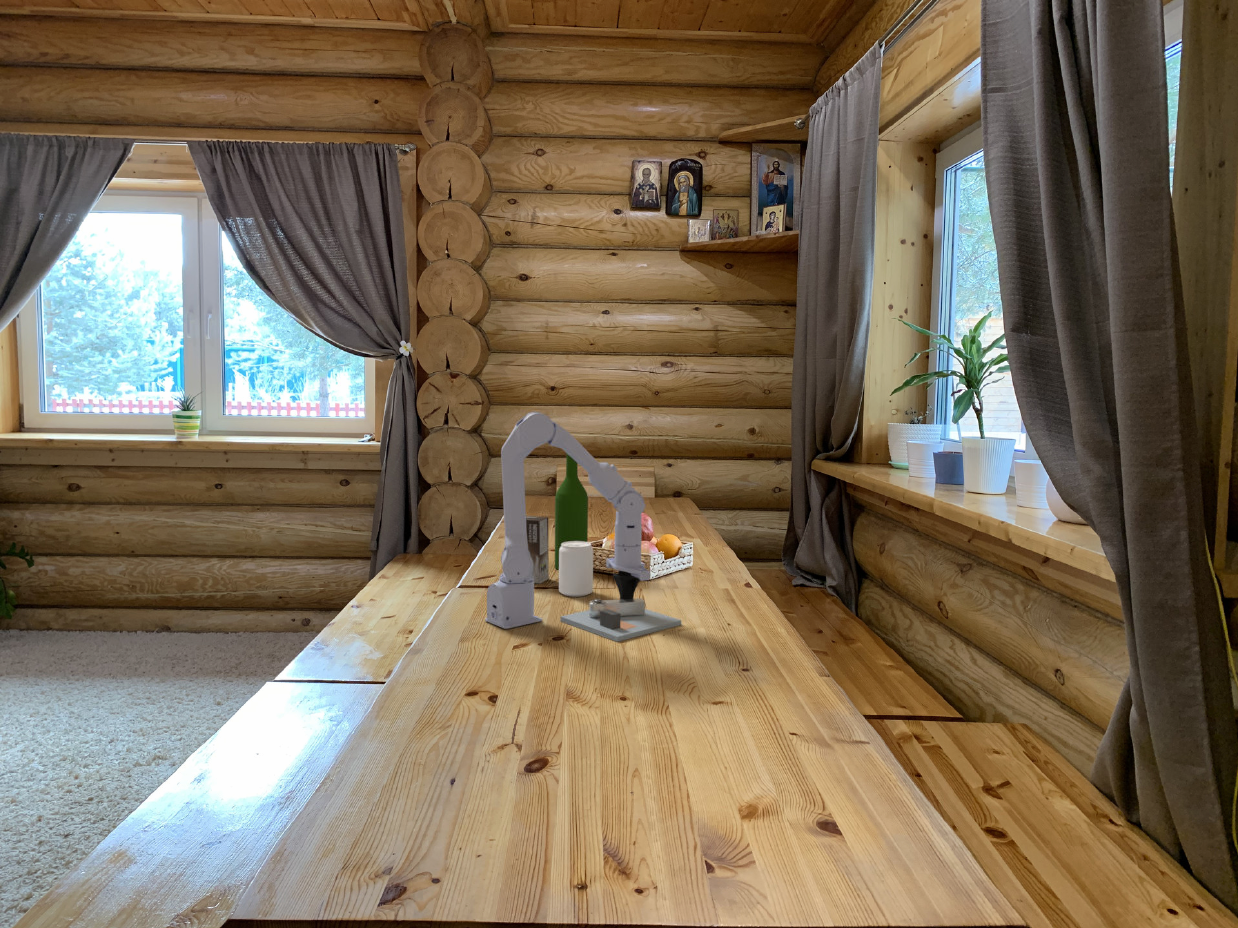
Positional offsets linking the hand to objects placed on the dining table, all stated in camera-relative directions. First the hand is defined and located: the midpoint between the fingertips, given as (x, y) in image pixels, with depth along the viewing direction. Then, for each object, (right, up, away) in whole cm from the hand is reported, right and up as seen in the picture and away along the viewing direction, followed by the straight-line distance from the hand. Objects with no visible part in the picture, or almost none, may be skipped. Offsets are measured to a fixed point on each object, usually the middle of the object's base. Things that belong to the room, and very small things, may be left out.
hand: (626, 606), depth 175 cm
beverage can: (-12, -1, +19) cm, 23 cm away
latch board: (-1, -3, -4) cm, 5 cm away
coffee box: (-25, +1, +32) cm, 41 cm away
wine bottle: (-15, +2, +46) cm, 49 cm away
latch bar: (-2, -1, -3) cm, 4 cm away
